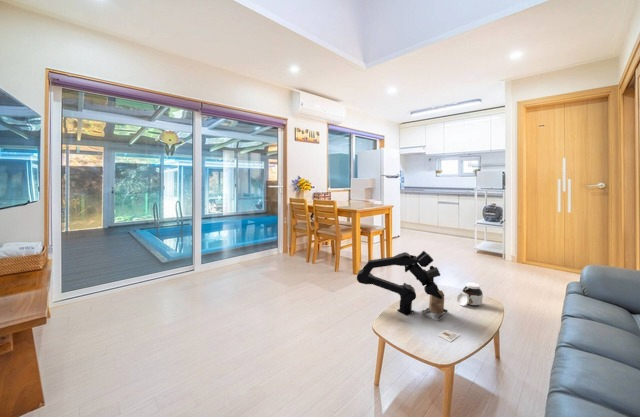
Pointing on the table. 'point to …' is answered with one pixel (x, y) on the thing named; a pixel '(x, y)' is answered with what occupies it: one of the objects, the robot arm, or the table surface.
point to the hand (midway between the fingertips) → (440, 294)
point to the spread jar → (470, 295)
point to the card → (448, 335)
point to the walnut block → (437, 303)
